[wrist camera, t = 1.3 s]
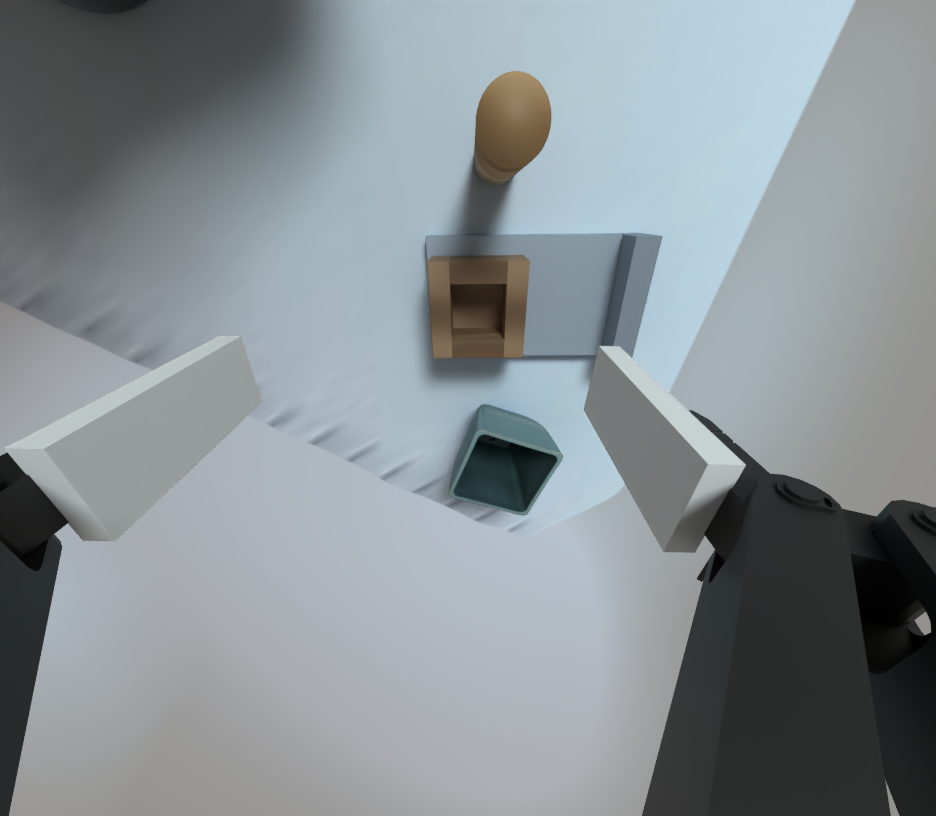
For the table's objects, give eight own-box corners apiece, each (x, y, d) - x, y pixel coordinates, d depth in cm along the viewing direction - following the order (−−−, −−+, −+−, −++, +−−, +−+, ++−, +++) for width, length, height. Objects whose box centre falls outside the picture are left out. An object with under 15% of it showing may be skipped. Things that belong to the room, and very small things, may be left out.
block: (432, 255, 30) (426, 261, 26) (523, 254, 30) (530, 260, 26) (437, 343, 34) (433, 358, 30) (517, 342, 34) (522, 357, 30)
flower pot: (547, 407, 39) (566, 456, 31) (516, 463, 43) (526, 518, 36) (476, 384, 38) (477, 428, 30) (451, 444, 42) (446, 496, 34)
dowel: (473, 130, 27) (475, 71, 15) (519, 130, 26) (555, 70, 15) (473, 185, 28) (475, 169, 17) (516, 185, 28) (547, 167, 17)
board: (427, 235, 30) (421, 238, 27) (640, 233, 30) (662, 236, 27) (434, 351, 36) (430, 367, 32) (614, 350, 36) (630, 365, 32)
